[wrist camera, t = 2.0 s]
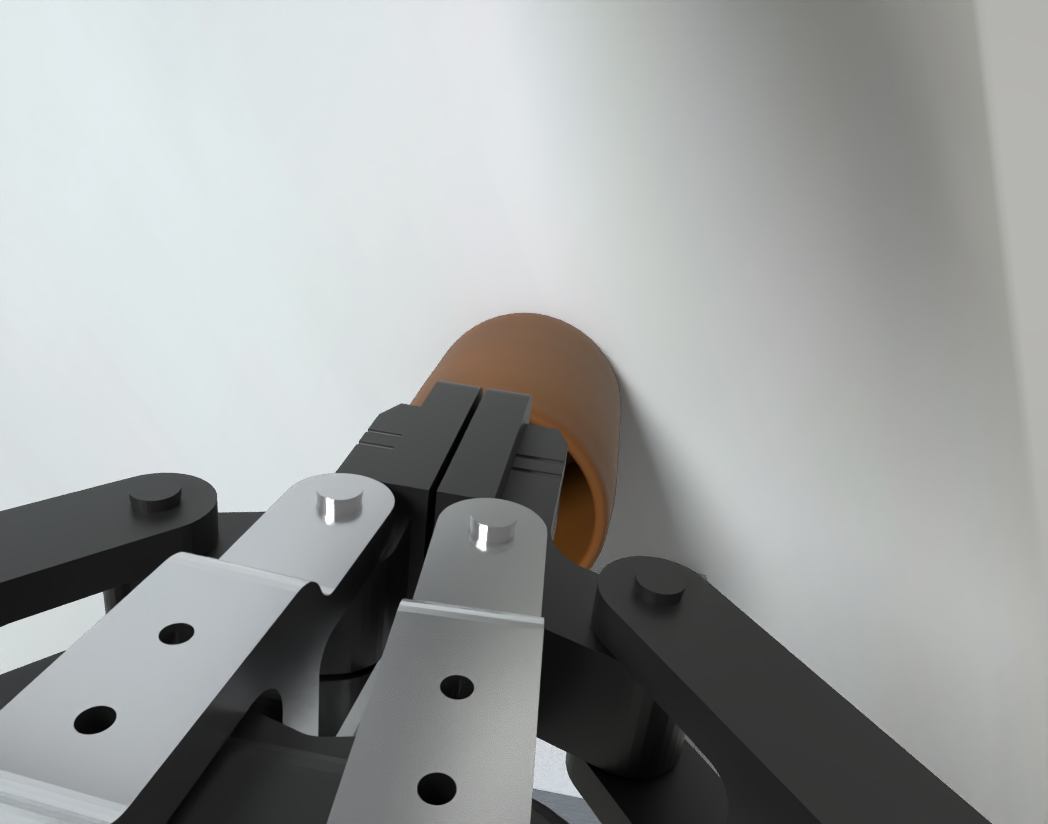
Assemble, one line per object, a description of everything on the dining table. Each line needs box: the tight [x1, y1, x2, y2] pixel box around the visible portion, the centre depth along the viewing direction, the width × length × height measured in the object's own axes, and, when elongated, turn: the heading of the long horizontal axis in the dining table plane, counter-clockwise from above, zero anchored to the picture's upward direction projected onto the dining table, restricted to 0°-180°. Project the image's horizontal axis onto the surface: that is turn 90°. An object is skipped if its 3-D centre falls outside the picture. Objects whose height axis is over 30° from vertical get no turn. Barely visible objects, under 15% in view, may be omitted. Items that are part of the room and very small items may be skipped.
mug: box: [410, 313, 621, 570], centre depth 30 cm, size 12×8×9 cm, turn 18°
